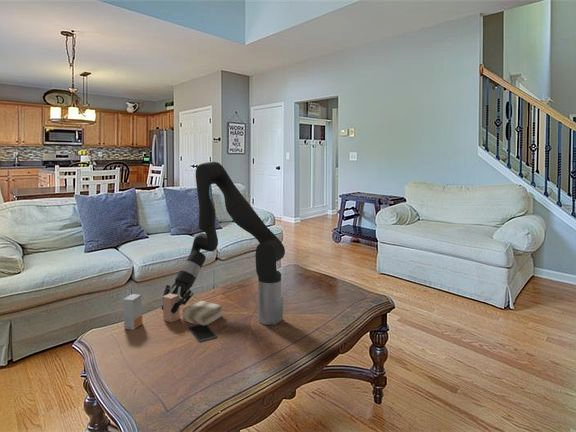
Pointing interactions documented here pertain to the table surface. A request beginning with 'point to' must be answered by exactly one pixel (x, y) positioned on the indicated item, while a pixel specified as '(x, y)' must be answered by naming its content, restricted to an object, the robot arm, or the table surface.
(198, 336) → the cell phone
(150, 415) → the table surface
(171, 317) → the terracotta block
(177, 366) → the table surface
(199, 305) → the birch riser
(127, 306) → the skincare box
